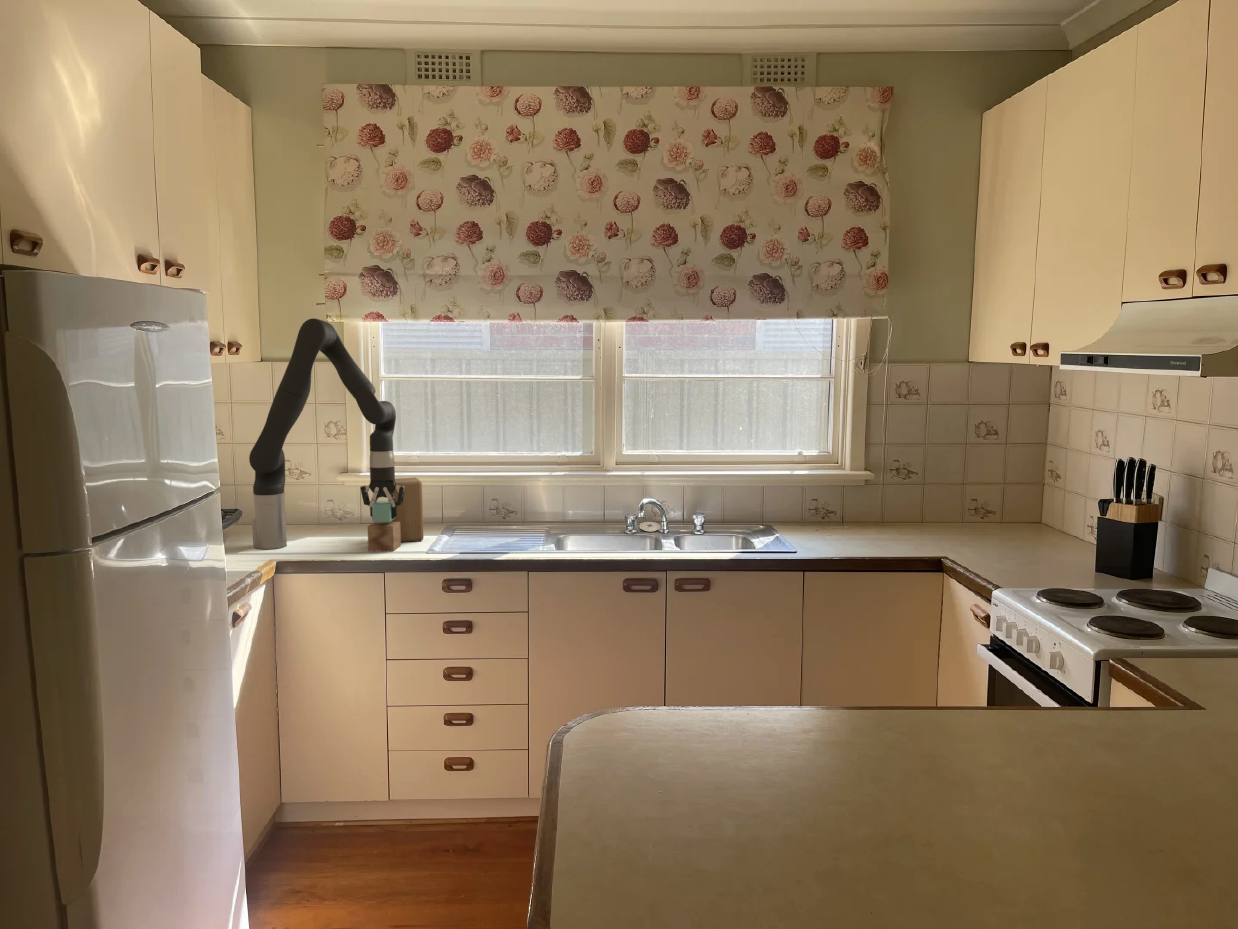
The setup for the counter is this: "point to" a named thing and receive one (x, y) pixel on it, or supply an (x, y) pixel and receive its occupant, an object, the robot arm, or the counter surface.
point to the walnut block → (384, 536)
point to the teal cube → (381, 511)
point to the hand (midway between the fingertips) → (383, 518)
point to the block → (410, 510)
